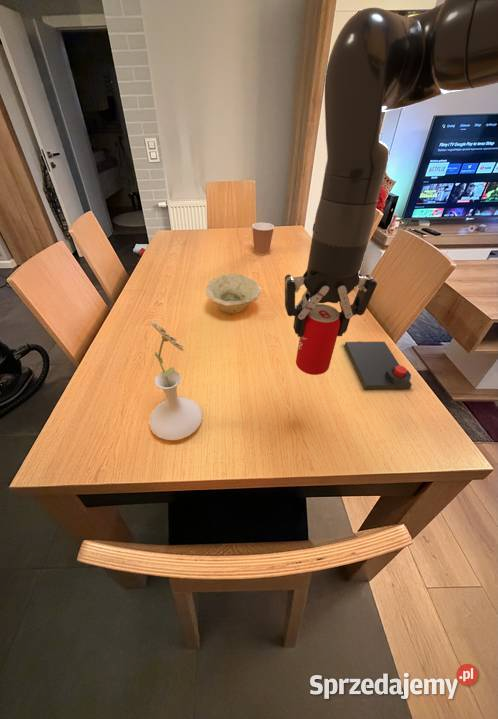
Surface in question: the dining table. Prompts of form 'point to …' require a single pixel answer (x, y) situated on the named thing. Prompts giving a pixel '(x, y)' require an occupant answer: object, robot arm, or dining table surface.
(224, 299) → the bowl
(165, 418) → the flower in vase
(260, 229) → the coffee cup
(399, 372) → the button
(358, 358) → the grey plate red button
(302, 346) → the beverage can
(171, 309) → the dining table surface
